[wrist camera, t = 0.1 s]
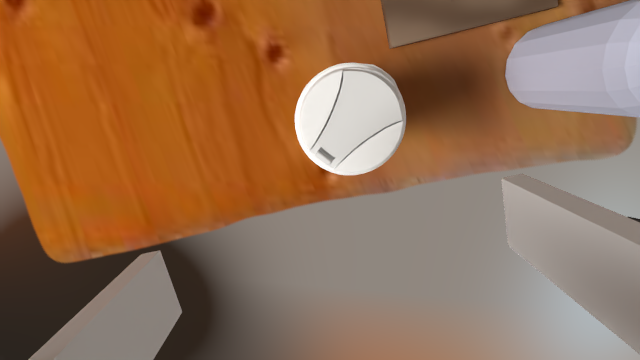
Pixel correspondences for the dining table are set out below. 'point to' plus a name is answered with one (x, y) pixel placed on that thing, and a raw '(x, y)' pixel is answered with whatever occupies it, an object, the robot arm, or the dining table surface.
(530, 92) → the soap bottle
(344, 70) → the coffee cup
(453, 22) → the block
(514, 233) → the robot arm
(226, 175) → the dining table surface
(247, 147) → the dining table surface
